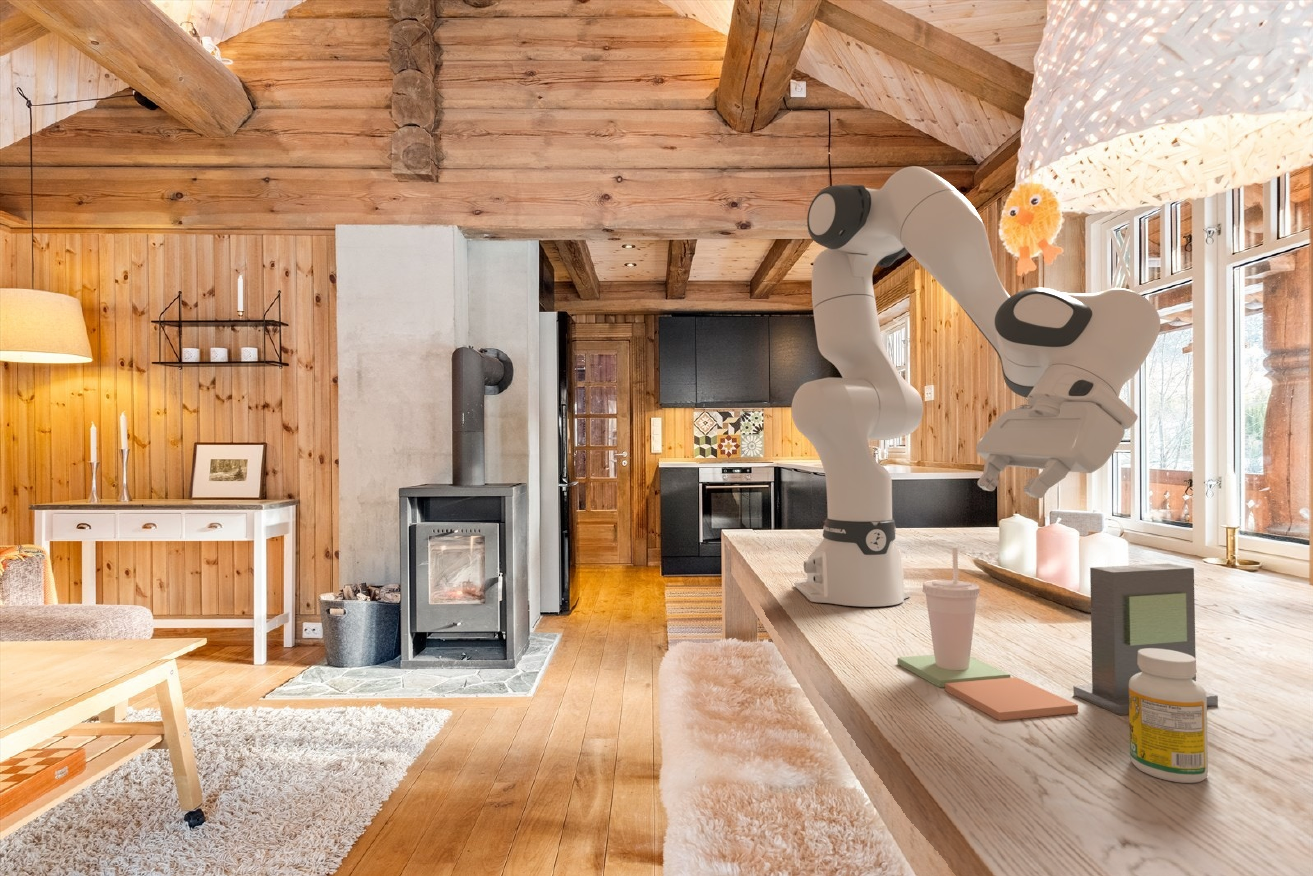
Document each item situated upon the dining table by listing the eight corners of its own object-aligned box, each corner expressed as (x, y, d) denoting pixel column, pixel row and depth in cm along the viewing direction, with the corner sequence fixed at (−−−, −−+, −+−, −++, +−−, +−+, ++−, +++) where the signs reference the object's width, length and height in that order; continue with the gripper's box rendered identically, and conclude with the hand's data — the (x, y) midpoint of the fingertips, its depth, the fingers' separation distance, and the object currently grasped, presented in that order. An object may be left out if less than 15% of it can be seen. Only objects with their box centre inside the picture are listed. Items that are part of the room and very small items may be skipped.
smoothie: (987, 675, 83) (985, 552, 83) (929, 672, 84) (927, 552, 84) (973, 658, 89) (971, 545, 89) (919, 656, 90) (917, 544, 90)
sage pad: (897, 664, 90) (897, 657, 90) (962, 658, 92) (961, 652, 92) (940, 687, 81) (939, 680, 81) (1010, 681, 83) (1010, 674, 83)
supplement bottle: (1197, 791, 56) (1194, 668, 57) (1119, 768, 61) (1117, 653, 61) (1216, 771, 60) (1214, 655, 60) (1142, 750, 64) (1140, 642, 64)
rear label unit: (1073, 695, 78) (1071, 565, 78) (1166, 686, 81) (1163, 561, 81) (1119, 715, 72) (1117, 575, 72) (1217, 705, 75) (1215, 570, 75)
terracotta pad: (945, 690, 80) (945, 683, 80) (1016, 684, 82) (1016, 677, 82) (999, 720, 71) (999, 712, 71) (1078, 712, 73) (1077, 705, 73)
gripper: (999, 392, 101) (943, 471, 100) (1111, 383, 81) (1042, 482, 80) (1031, 419, 102) (976, 498, 101) (1150, 417, 82) (1083, 516, 81)
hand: (1006, 491), depth 90 cm, fingers open, 8 cm apart
